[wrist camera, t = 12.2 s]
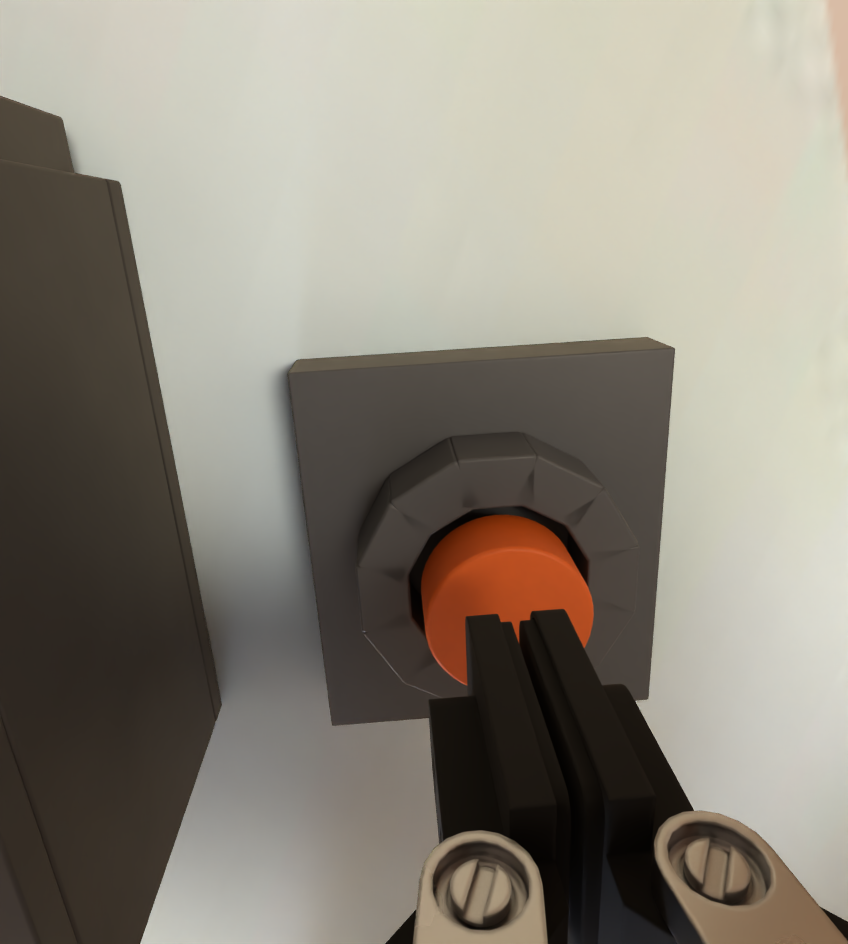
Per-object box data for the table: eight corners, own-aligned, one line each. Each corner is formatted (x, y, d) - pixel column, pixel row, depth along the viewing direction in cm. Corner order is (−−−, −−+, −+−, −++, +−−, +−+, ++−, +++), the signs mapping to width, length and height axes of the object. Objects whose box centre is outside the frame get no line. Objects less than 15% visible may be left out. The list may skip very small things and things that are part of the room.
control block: (648, 336, 17) (711, 362, 14) (628, 663, 20) (675, 746, 17) (296, 359, 17) (274, 390, 13) (336, 687, 20) (326, 776, 17)
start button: (574, 507, 15) (598, 541, 13) (571, 642, 16) (592, 688, 15) (416, 518, 15) (420, 554, 13) (425, 653, 16) (429, 701, 14)
